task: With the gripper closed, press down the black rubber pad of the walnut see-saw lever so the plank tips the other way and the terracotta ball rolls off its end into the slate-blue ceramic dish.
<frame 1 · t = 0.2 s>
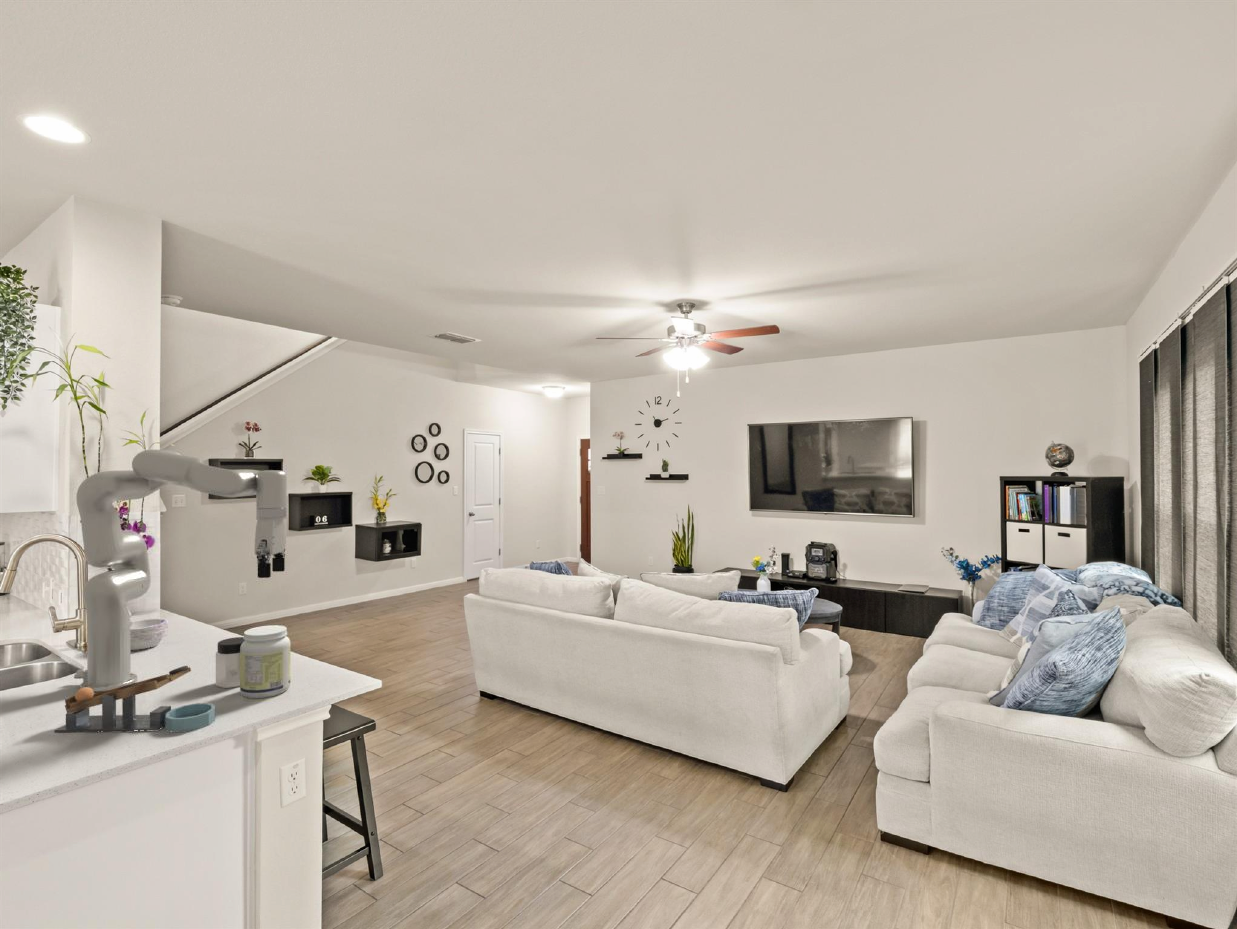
hand: (271, 574, 182), 31 cm above the worktop, tool pointing down, fingers open, 9 cm apart
supplement tub: (265, 692, 176), on the worktop
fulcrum: (119, 724, 154), on the worktop
dish: (190, 723, 155), on the worktop
ball: (84, 695, 153), point 7 cm above the worktop, tilted 17°, touching lever
paper bowls: (140, 647, 217), on the worktop
lever: (130, 684, 158), point 8 cm above the worktop, hinge at -15.0°, touching ball
jar: (234, 683, 182), on the worktop
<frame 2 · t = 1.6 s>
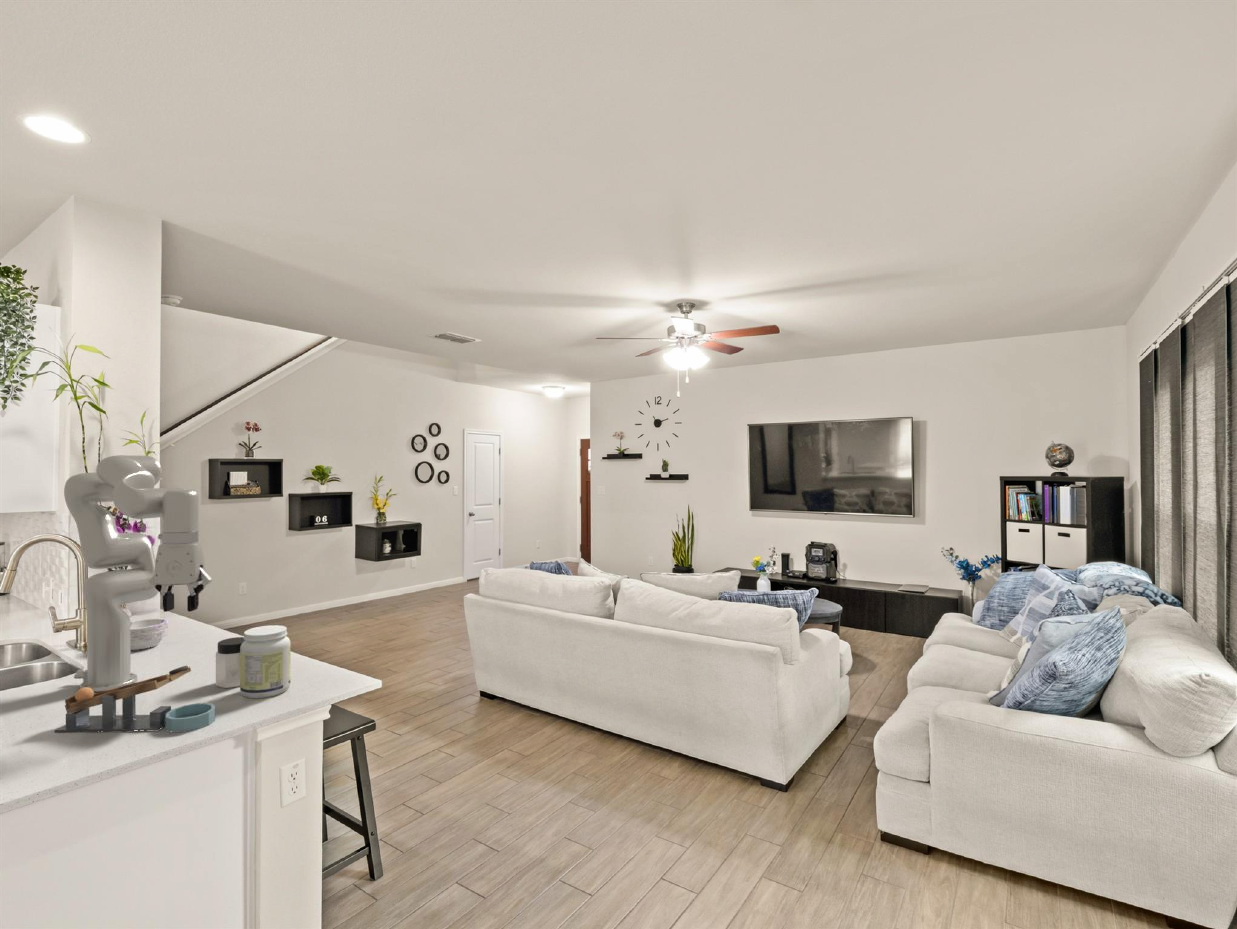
hand: (180, 609, 163), 25 cm above the worktop, tool pointing down, fingers open, 5 cm apart
nothing on the worktop moved.
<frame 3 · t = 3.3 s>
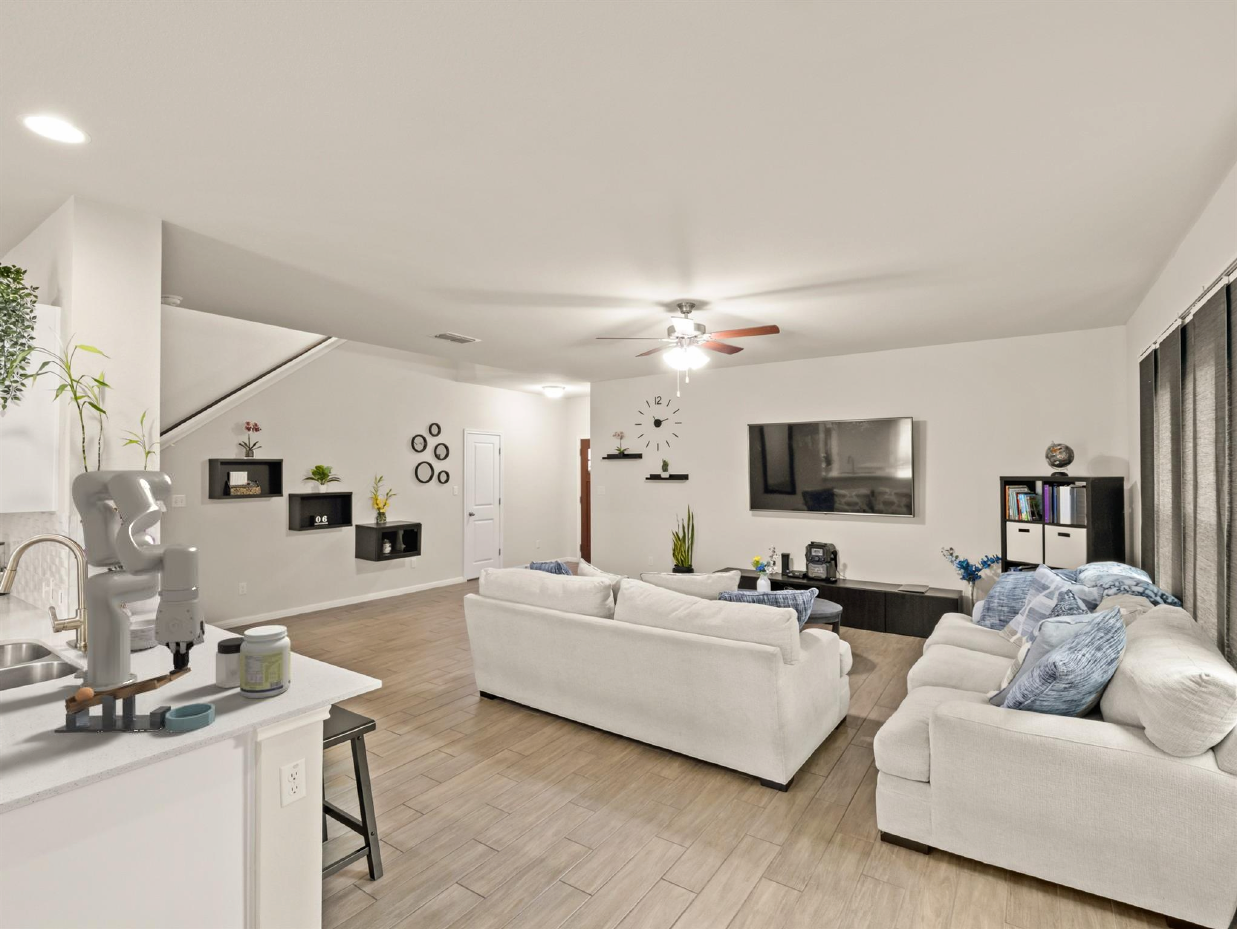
hand: (181, 667, 163), 11 cm above the worktop, tool pointing down, fingers closed
lever: (130, 684, 158), point 8 cm above the worktop, hinge at -15.0°, touching ball, gripper
everything else where it was.
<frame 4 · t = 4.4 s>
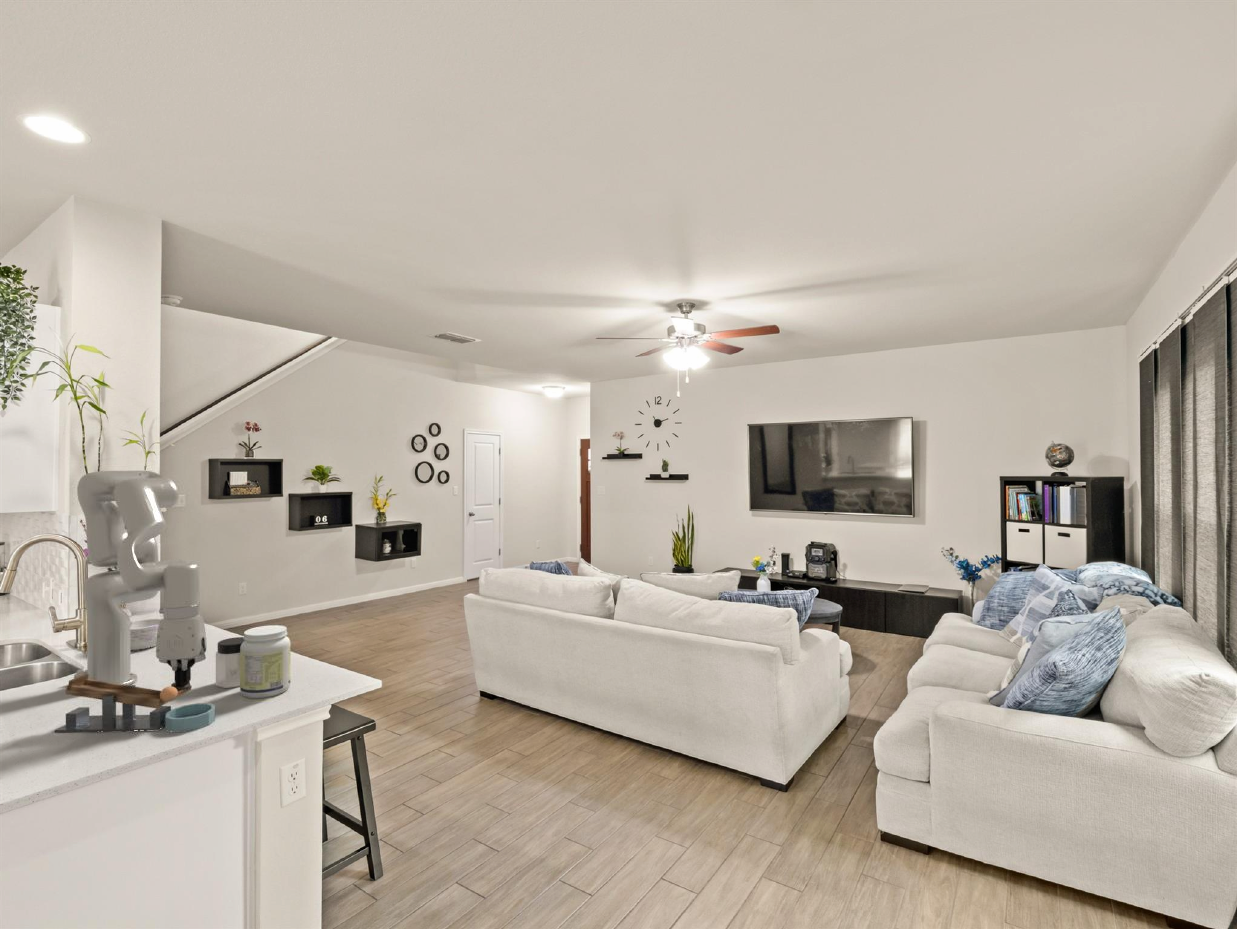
hand: (182, 684, 163), 6 cm above the worktop, tool pointing down, fingers closed
ball: (168, 694, 154), point 7 cm above the worktop, tilted 92°
lever: (132, 685, 158), point 8 cm above the worktop, hinge at 10.4°, touching gripper
everything else where it was.
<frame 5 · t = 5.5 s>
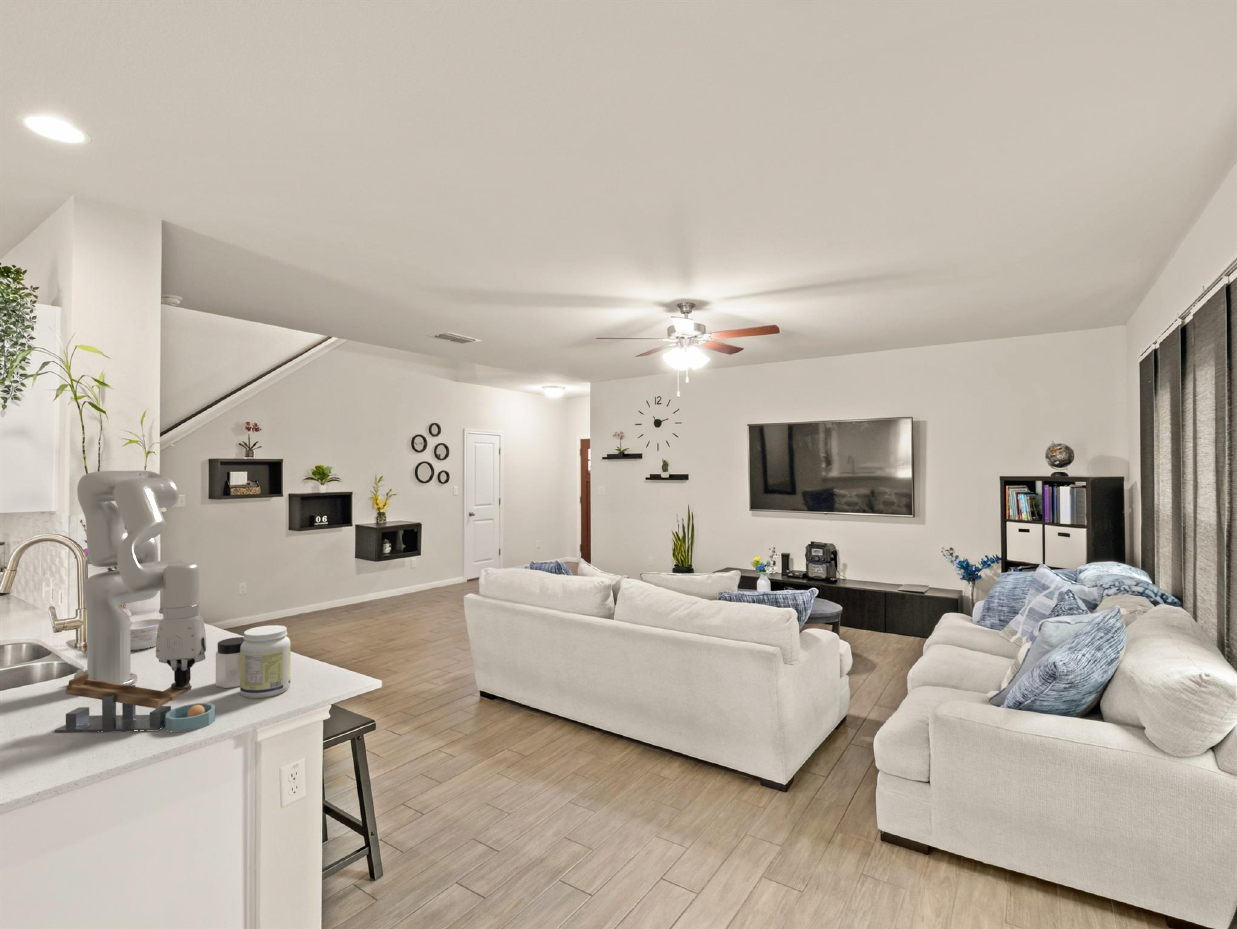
hand: (182, 684, 163), 6 cm above the worktop, tool pointing down, fingers closed
ball: (196, 712, 155), point 3 cm above the worktop, tilted 180°, touching dish
everything else where it was.
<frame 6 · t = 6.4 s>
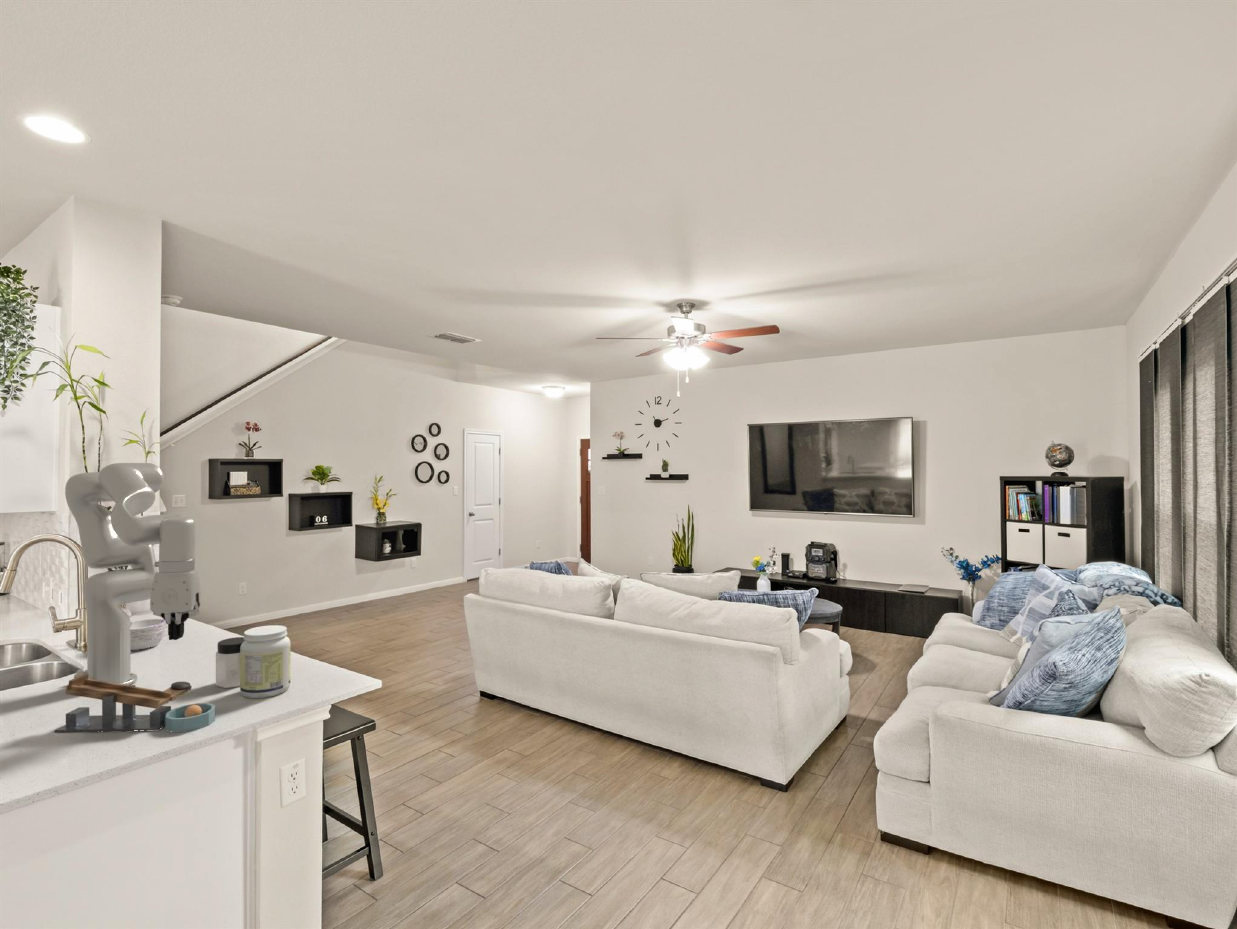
hand: (176, 638, 163), 18 cm above the worktop, tool pointing down, fingers closed
ball: (193, 712, 155), point 3 cm above the worktop, tilted 157°, touching dish
lever: (133, 685, 158), point 8 cm above the worktop, hinge at 10.6°
everything else where it was.
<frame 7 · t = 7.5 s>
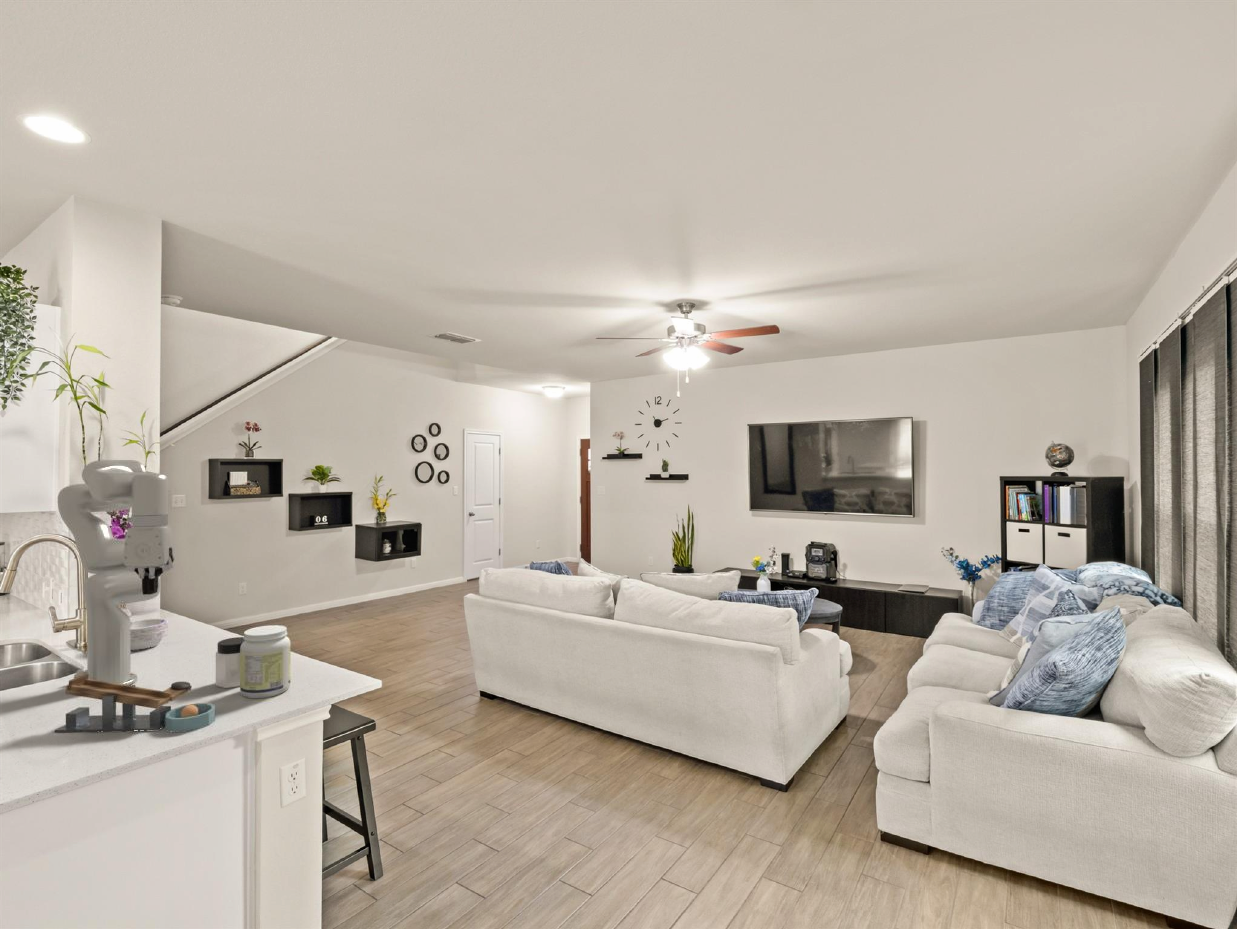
hand: (150, 593, 164), 29 cm above the worktop, tool pointing down, fingers closed
ball: (189, 712, 155), point 3 cm above the worktop, tilted 129°, touching dish
everything else where it was.
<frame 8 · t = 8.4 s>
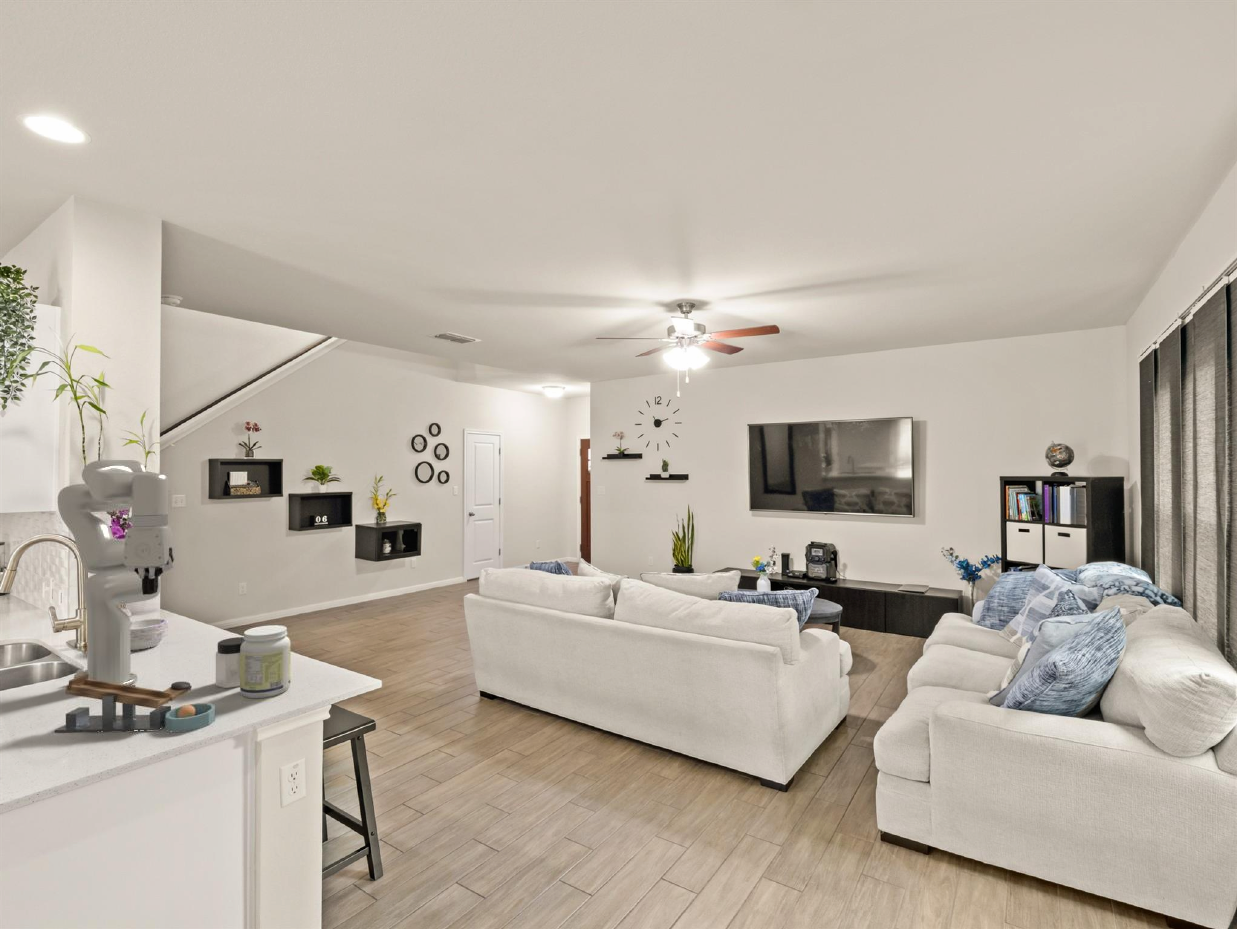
hand: (150, 593, 164), 29 cm above the worktop, tool pointing down, fingers closed
ball: (186, 712, 155), point 3 cm above the worktop, tilted 106°, touching dish
everything else where it was.
at the end: ball 1.0 cm off-centre on the dish, point 2.5 cm above the dish's base; lever at +11° (first picture: -15°) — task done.
